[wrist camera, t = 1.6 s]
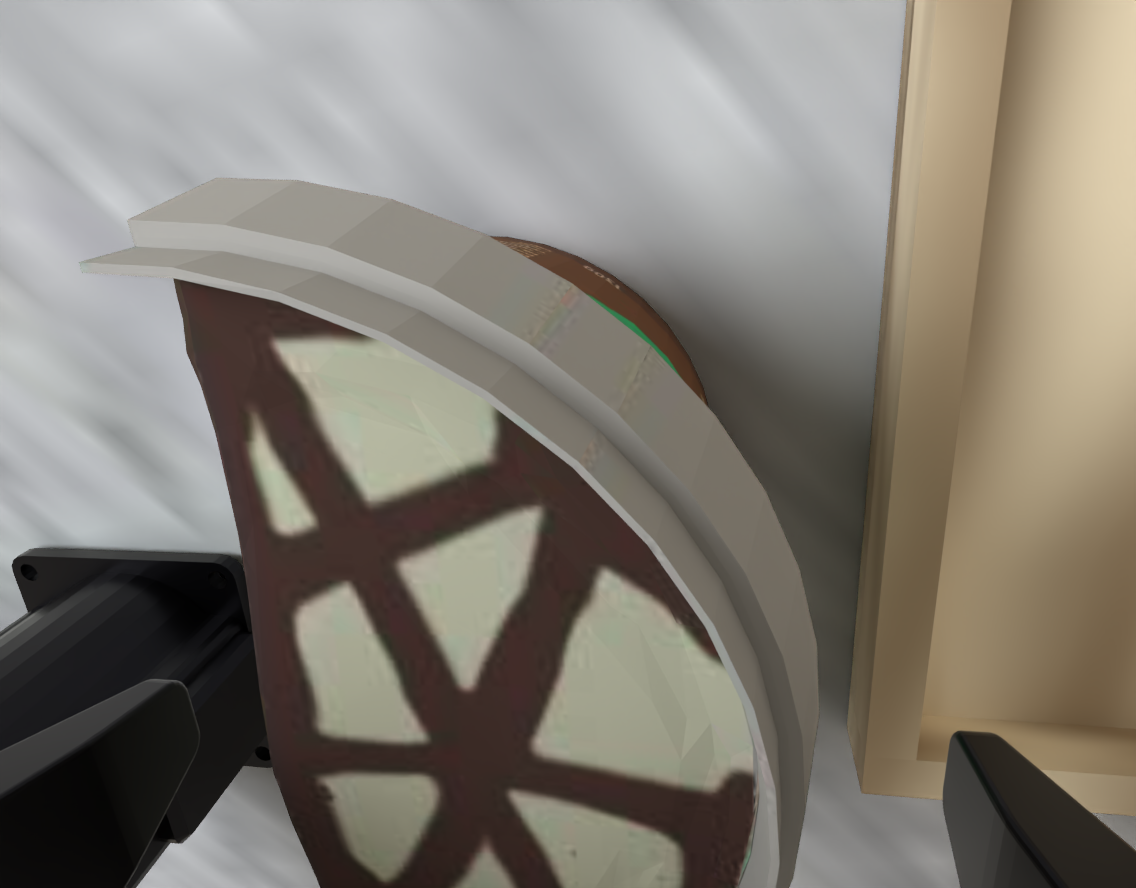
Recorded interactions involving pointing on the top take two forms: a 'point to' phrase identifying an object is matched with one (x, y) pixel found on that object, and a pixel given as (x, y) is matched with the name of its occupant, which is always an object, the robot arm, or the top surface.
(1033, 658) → the wooden tray
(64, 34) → the top surface
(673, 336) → the food container
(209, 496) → the top surface
